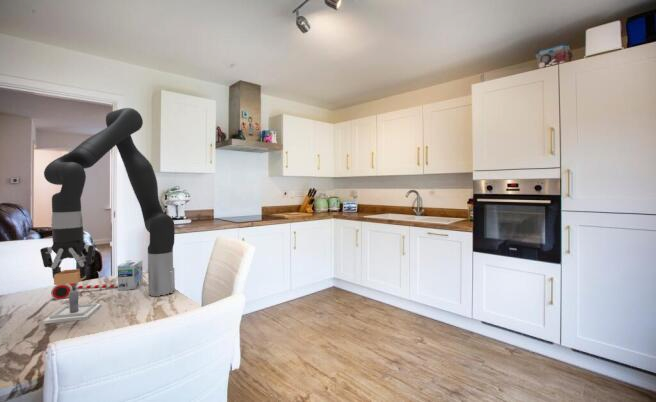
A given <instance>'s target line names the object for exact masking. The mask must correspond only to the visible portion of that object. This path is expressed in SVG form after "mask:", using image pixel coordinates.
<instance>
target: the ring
mask: <svg viewBox="0 0 656 402" xmlns="http://www.w3.org/2000/svg"><path fill="white" fill-rule="evenodd" d="M86 278H87V275H86V276H85V277H84V278H80V268H73V269H63V270H61V272H59V273H57V274H55V275H54V279H53V286H56V285H60V284H72V283H80V282H81V281H83V280H85V279H86Z"/></svg>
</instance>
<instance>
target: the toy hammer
mask: <svg viewBox="0 0 656 402" xmlns="http://www.w3.org/2000/svg"><path fill="white" fill-rule="evenodd" d="M78 283H79V282H78ZM78 283H72V284H60V285H54V286H53V287H52V289H51V291H50V295H51V297H52V299H54V300H65V299H69V292H71V291H76V290H87V289H88V290H89V289H111V288H113V289H116V288H117V289H118V283H116V284H93V285H89V284H88V285H86V284H85V285H78Z"/></svg>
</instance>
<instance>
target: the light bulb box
mask: <svg viewBox="0 0 656 402" xmlns="http://www.w3.org/2000/svg"><path fill="white" fill-rule="evenodd" d="M116 267H117V284H118V288H117V290H118V291H119V292H120V291H131V290H130V289H135V288H136V289H138V287H140V286H141V285H142V284H143V283H144V281H143V280H144V276H143V269H144V268H143V260H142V259H137V260H135V259H134V260H130V259H129V260H125V261H124V262H122V263H120V264H118V265H117V266H116ZM142 282H143V283H142ZM141 283H142V284H141ZM140 284H141V285H140ZM139 285H140V286H139ZM136 289H135V290H136Z"/></svg>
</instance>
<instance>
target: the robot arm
mask: <svg viewBox="0 0 656 402" xmlns="http://www.w3.org/2000/svg"><path fill="white" fill-rule="evenodd" d="M143 121H144V120H143V117H142V115H141V113H139V111H137V110H136V109H134V108H131V107H124V108H123V107H122V108H120V109H116V110H113V111H109V112H108V113H107V114H106V117H105V123H106V127H105V128H104V129H102V130H101V131H98V132H96V133H95V134H93V135H91V136H90V137H87V138H86V139H85V140H83V141H82V142H81V143H79V144H78V145H77V146H76V147H74V149H72V150H71V151H69V152H68V153H65V154H64V155H62V156H60V157H57V158H56V159H54V160H53V161H51V162H49V163H48V165H46V167H45V169H44V171H43V177H44V178H45V180H46V181H47V182H48V183H50V184H52V185H56V186H61V187H60V191H59V192H56V193H54V194H53V195H52V196H51V212H52V213H51V231H52V233H51V234H52V246H50V247H49V246H45V247H42V248H41V249H40V250H39V251H40V255H41V259H42V264H43V267H44V268H51V271H52V278H53V280H54V275H55V274H57V273H59V272H61V271H62V268H61V264H62V262H63V261H64V260H65V259H74V260H75V262H77V263H78V265H79V268H78V269H80V278H84V277H85V276H86V277H87V275H88V265H90V264H92V263H95V257H96V256H95V255H96V247H97V245H96V244H86V243H85V242H84V241H85V240H84V239H85V238H84V221H83V214H82V201H81V199H82V195H83V192H84V187H85V183H86V177H87V176H86V171H85V169H89V168H92V167H93V166H95V164H96V163H98V162H99V161H100V160H101V159H102V158H103V157H104V156H106V154H107V153H108V152H110V151H111V150H112V149H113V148H115V146H116V148H117V150H118V152H119V155H120V156H119V157H120V158H121V160H122V163H123V166H124V169H125V172H126V174H127V178H128V180H129V183H130V186H131V188H132V190H133V193H134V195H135V197H136V200H137V201H138V204H139V206H140V207H139V208H140V210H141V214H142V218H143V222H144V226H145V229H146V231H147V232H148V233H149V244H148V246H147V271H148V273H147V275H148V279H147V280H148V281H147V282H148V283H147V284H148V295H149V296H150V295H151V297H161V296H160V295H163V296H166V295H165V294H168V295H170V294H169V293H172V292H173V291H174V292H175V290H174V289H175V288H176V287H175V286H176V283H175V280H176V279H175V276H176V275H175V268H174V246H175V245H174V244H175V228H176V227H175V220H174V219H173V217H172V216H170V215H169V214H166V213H165V212H164V209H163V208H162V205H161V202H160V199H159V187H158V179H157V175H156V173H155V171H154V169H153V168H154V167H153V165H152V163H151V162H150V161H149V159H147V157H146V156H145V155H144V154H142V152H141V151H140V150H139V149H138V148H137V146H136V145H135V143H134V140H133V138H132V135H133V134H135V133H137V132H138V131H140V130H141V128H142V127H143V124H144V122H143ZM84 250H85V252H87V256H86V258H85V255H84V253H83V251H84ZM53 252H54V253H55V254H56V255H55V257H54V259H53V258H52V253H53ZM174 292H173V293H174ZM173 293H172V294H173Z"/></svg>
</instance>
